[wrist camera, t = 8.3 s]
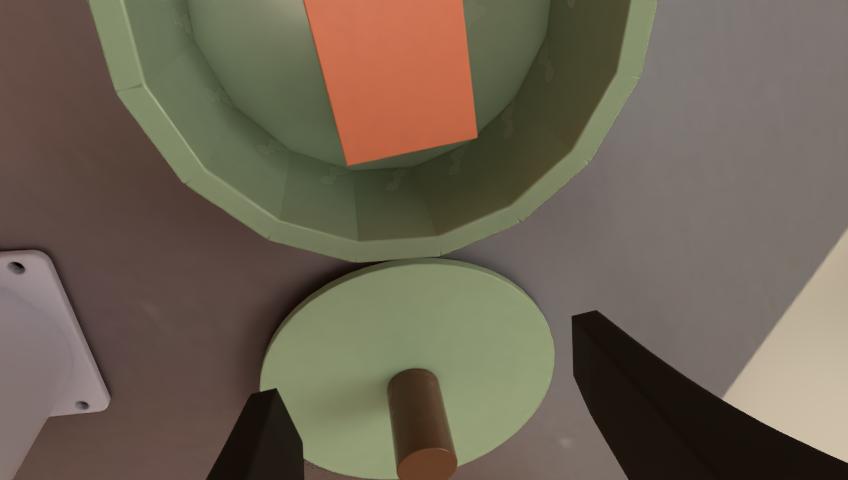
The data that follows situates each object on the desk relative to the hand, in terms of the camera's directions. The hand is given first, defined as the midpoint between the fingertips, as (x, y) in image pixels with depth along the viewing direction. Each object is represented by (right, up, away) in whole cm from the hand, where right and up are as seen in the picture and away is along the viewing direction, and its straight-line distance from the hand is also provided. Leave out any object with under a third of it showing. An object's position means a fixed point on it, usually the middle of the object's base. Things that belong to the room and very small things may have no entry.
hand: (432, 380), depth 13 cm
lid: (-1, -3, +12) cm, 12 cm away
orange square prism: (-2, +11, +3) cm, 11 cm away
